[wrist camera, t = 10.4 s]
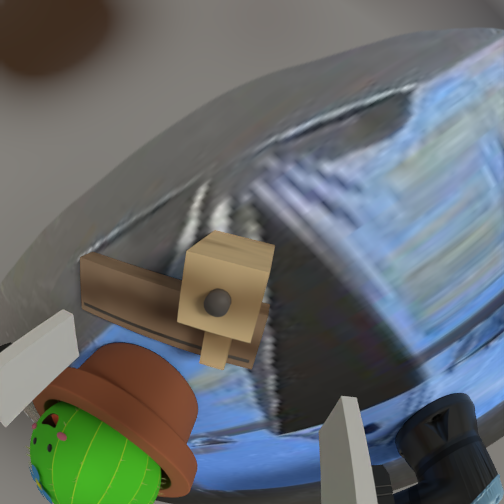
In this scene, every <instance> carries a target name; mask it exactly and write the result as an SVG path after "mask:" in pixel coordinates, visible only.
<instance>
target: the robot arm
mask: <svg viewBox="0 0 504 504" xmlns="http://www.w3.org/2000/svg"><path fill="white" fill-rule="evenodd" d="M78 357H79V352H78V346H77V339H76V333H75V325H74V317H73V314H71V313H70V312H68V311H66V310H64V309H63V310H61V311H60V312H58V313H57V314H55V315H54V316H52V317H51V318H49V319H48V320H46V321H45V322H43V323H42V324H40V325H39V326H37V327H36V328H34V329H33V330H31V331H30V332H28V333H27V334H26V335H24V336H23V337H21V338H20V339H18V340H17V341H16V342H14V343H13V344H12V343H11V342H10V343H7V344H4V345H2V346H0V422H1V423H2V424H3V425H4V426H5V427H7V426H8V425H9V423H10V422H12V420H13V419H14V418H15V417H16V416H17V415H18V414H19V413H20V412H21V411H22V410H23V409H24V408H25V407H26V406H27V405H28V404H29V403H30V402H31V401H32V400H33V399H34V398H35V397H36V396H37V395H38V394H40V393H41V392H42V391H43V390H44V389H45V388H46V387H47V386H48V385H49V384H50V383H51V382H52V381H53V380H54V379H55V378H56V377H57V376H58V375H59V374H60V373H61V372H62V371H64V370H65V369H66V368H67V367H68V366H69V365H70V364H71V363H72V362H73V361H74V360H75V359H76V358H78ZM395 443H396V446H397V450H398V452H399V454H400V455H401V456H402V457H403V458H404V459H405V460H406V462H407V463H408V464H409V466H410V467H411V468H412V469H413V470H414V472H415V474H416V477H417V480H418V484H416V485H414V486H412V487H410V488H407V489H405V490H402V491H400V492H397V493H395V494H392V493H393V491H392V487H391V481H390V477H389V474H388V472H387V471H386V469H385V468H384V466H383V465H371V461H370V456H369V451H368V446H367V441H366V437H365V432H364V428H363V423H362V419H361V414H360V410H359V406H358V402H357V398H355V397H346V396H341V397H340V399H339V401H338V402H337V404H336V405H335V407H334V409H333V410H332V412H331V414H330V415H329V417H328V418H327V420H326V421H325V423H324V424H323V426H322V427H321V429H320V430H319V446H320V469H321V504H498V503H499V502H500V501H501V499H502V497H503V487H502V484H501V481H500V475H499V474H498V473H497V471H496V468H495V466H494V464H493V462H492V460H491V458H490V456H489V454H488V452H487V450H486V448H485V446H484V444H483V442H482V440H481V438H480V436H479V434H478V427H477V420H476V414H475V406H474V404H473V402H472V401H471V399H470V397H469V396H468V395H467V394H464V393H456V394H451V395H448V396H445V397H443V398H441V399H439V400H437V401H435V402H433V403H431V404H429V405H428V406H426V407H425V408H423V409H422V410H420V411H419V412H418V413H416V414H415V415H414V416H413V417H411V418H410V419H409V420H408V421H407V422H406V423H405V424H404V425H403V427H402V428H401V429H400V430H399V432H398V434H397V436H396V440H395Z"/></svg>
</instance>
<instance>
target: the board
mask: <svg viewBox="0 0 504 504" xmlns="http://www.w3.org/2000/svg"><path fill="white" fill-rule="evenodd" d="M80 281H81V301H82V309H83V310H86V311H88V312H90V313H92V314H94V315H96V316H98V317H101V318H103V319H105V320H107V321H110V322H112V323H114V324H117V325H119V326H121V327H124V328H126V329H129V330H131V331H134V332H136V333H139V334H141V335H144V336H146V337H149V338H152V339H154V340H157V341H160V342H163V343H165V344H168V345H171V346H174V347H177V348H180V349H183V350H186V351H189V352H192V353H195V354H199V355H201V350H202V344H203V338H204V333H205V330H201V329H198V328H195V327H191V326H188V325H185V324H182V323H179V322H177V318H178V309H179V301H180V293H181V285H182V280H179V279H176V278H172V277H169V276H166V275H162V274H159V273H156V272H153V271H150V270H146V269H143V268H140V267H137V266H134V265H131V264H128V263H125V262H122V261H119V260H116V259H113V258H110V257H107V256H104V255H101V254H98V253H95V252H91V253H88V254H86V255H84V256H82V257H80ZM269 306H270V304H266V303H261V307H260V310H259V314H258V318H257V321H256V325H255V328H254V332H253V336H252V339H251V343H248V342H244V341H240V340H236V339H232V341H231V346H230V350H229V354H228V358H227V361H226V363H229V364H233V365H237V366H241V367H244V368H248V369H252V367H253V363H254V360H255V357H256V354H257V351H258V347H259V344H260V341H261V338H262V334H263V331H264V328H265V324H266V321H267V318H268V313H269Z"/></svg>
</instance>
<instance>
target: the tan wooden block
mask: <svg viewBox="0 0 504 504" xmlns="http://www.w3.org/2000/svg"><path fill="white" fill-rule="evenodd" d="M274 247H275V245H272V244H268V243H264V242H260V241H256V240H252V239H248V238H244V237H240V236H236V235H232V234H228V233H224V232H220V231H216V230H215V231H213V232H212V233H210V234H209V235H208V236H206V237H205V238H203V239H202V240H201V241H199V242H198V243H197V244H195V245H194V246H192V247H191V248H190V249H188V250H187V251H186V257H185V264H184V271H183V278H182V285H181V293H180V301H179V309H178V318H177V322H179V323H182V324H185V325H188V326H191V327H195V328H198V329H201V330H205V333H204V338H203V344H202V350H201V357H200V364H204V365H207V366H210V367H214V368H217V369H221V370H224V367H225V364H226V361H227V358H228V354H229V350H230V346H231V341H232V339H236V340H240V341H244V342H248V343H251V339H252V336H253V332H254V328H255V325H256V321H257V318H258V314H259V310H260V307H261V303H262V300H263V296H264V292H265V288H266V285H267V281H268V277H269V274H270V269H271V263H272V258H273V253H274Z"/></svg>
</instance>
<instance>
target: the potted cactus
mask: <svg viewBox="0 0 504 504" xmlns="http://www.w3.org/2000/svg"><path fill="white" fill-rule="evenodd" d="M33 403H34V406H35V408H36V410H37V412H38V413H39V415H40V419H39V420H38V422H37V423H34V424H33V425H32V428H33V429H34V430H33V433H32V437H31V443H30V448H29V449H30V455H29V456H30V457H31V463H32V464H31V465H32V471H33V474H34V475H33V474H32V472H31V470H30V472H31V475H32V477H33V479H34V481H35V482H36V483H37V487H38V489H39V491H40V492H41V494H42V492H43V494H44V496H45V497H46V499H47V500H48V501H49V502H50V503H51V504H52V502H53V503H54V504H153V503H154V501H155V499H156V497H157V496H161V497H181V496H185V495H186V494H188V493H189V492H190V489H191V487H192V484H193V481H194V478H195V475H196V472H197V461H196V459H195V456H194V455H193V453H192V451H191V450H190V448H189V447H188V446H187V441H188V439H189V436H190V434H191V431H192V429H193V426H194V423H195V421H196V418H197V414H198V404H197V400H196V397H195V395H194V393H193V391H192V389H191V387H190V386H189V384H188V383H187V381H186V380H185V379H184V377H183V376H182V375H181V374H180V373H179V372H178V371H177V370H176V369H175V368H174V367H173V366H172V365H171V364H170V363H169V362H167V361H166V360H165V359H164V358H162V357H161V356H159V355H158V354H156V353H154V352H152V351H150V350H148V349H146V348H144V347H141V346H138V345H134V344H129V343H111V344H107V345H104V346H102V347H101V348H99V349H98V350H97V351H96V352H94V353H93V354H92V355H91V356H90V357H89V358H88V359H87V360H86V361H85V362H84V363H83V364H82V365H81V366H80V367H79V368H78V369H76V368H71V367H67V368H66V369H65V370H64V371H62V372H61V373H60V374H59V375H58V376H57V377H56V378H55V379H54V380H53V381H52V382H51V383H50V384H49V385H48V386H47V387H46V388H45V389H44V390H43V391H42V392H41V393H40V394H38V395H37V396H36V397H35V398H34V399H33ZM43 494H42V495H43Z"/></svg>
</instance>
